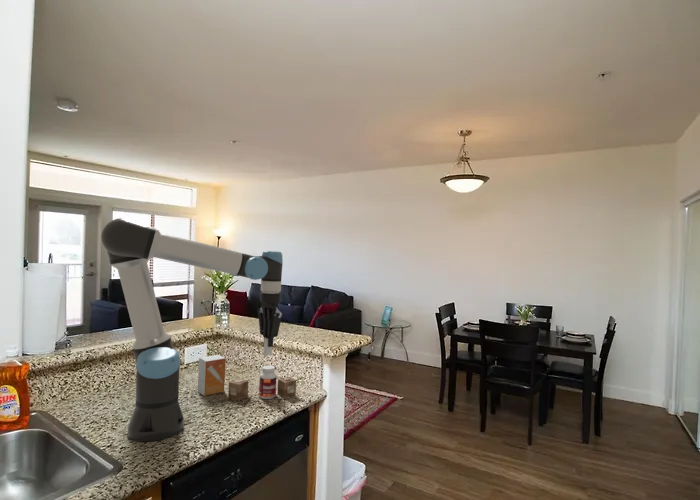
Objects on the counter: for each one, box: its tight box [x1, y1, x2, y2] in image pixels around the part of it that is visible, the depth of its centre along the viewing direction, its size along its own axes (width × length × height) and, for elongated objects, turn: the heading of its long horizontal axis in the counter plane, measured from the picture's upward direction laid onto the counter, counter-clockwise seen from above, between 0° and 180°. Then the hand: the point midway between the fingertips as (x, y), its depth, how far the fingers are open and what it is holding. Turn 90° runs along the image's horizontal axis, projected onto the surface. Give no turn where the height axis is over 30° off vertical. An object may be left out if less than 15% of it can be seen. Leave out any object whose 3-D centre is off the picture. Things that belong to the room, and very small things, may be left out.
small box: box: [197, 354, 226, 397], centre depth 151 cm, size 8×6×13 cm
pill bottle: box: [258, 365, 277, 400], centre depth 148 cm, size 6×6×11 cm
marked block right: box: [277, 376, 297, 399], centre depth 150 cm, size 5×5×6 cm
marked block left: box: [227, 377, 249, 402], centre depth 146 cm, size 5×5×6 cm
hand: (267, 354), depth 147 cm, fingers closed
